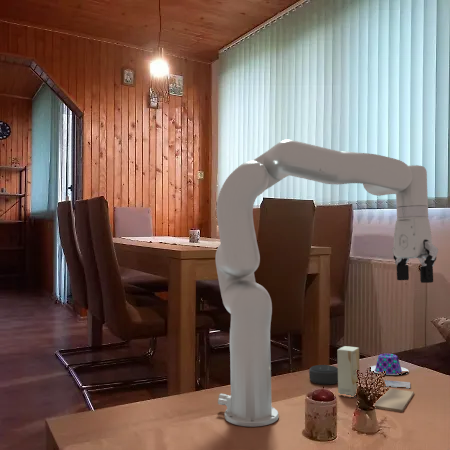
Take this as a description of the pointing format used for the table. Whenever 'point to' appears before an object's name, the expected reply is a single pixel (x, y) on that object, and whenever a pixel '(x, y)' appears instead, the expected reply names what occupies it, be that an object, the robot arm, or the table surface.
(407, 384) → the trowel prop
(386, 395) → the beige flat slab
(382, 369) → the pudding
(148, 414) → the table surface
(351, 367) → the skincare box
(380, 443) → the table surface
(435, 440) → the table surface
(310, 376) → the smart speaker
